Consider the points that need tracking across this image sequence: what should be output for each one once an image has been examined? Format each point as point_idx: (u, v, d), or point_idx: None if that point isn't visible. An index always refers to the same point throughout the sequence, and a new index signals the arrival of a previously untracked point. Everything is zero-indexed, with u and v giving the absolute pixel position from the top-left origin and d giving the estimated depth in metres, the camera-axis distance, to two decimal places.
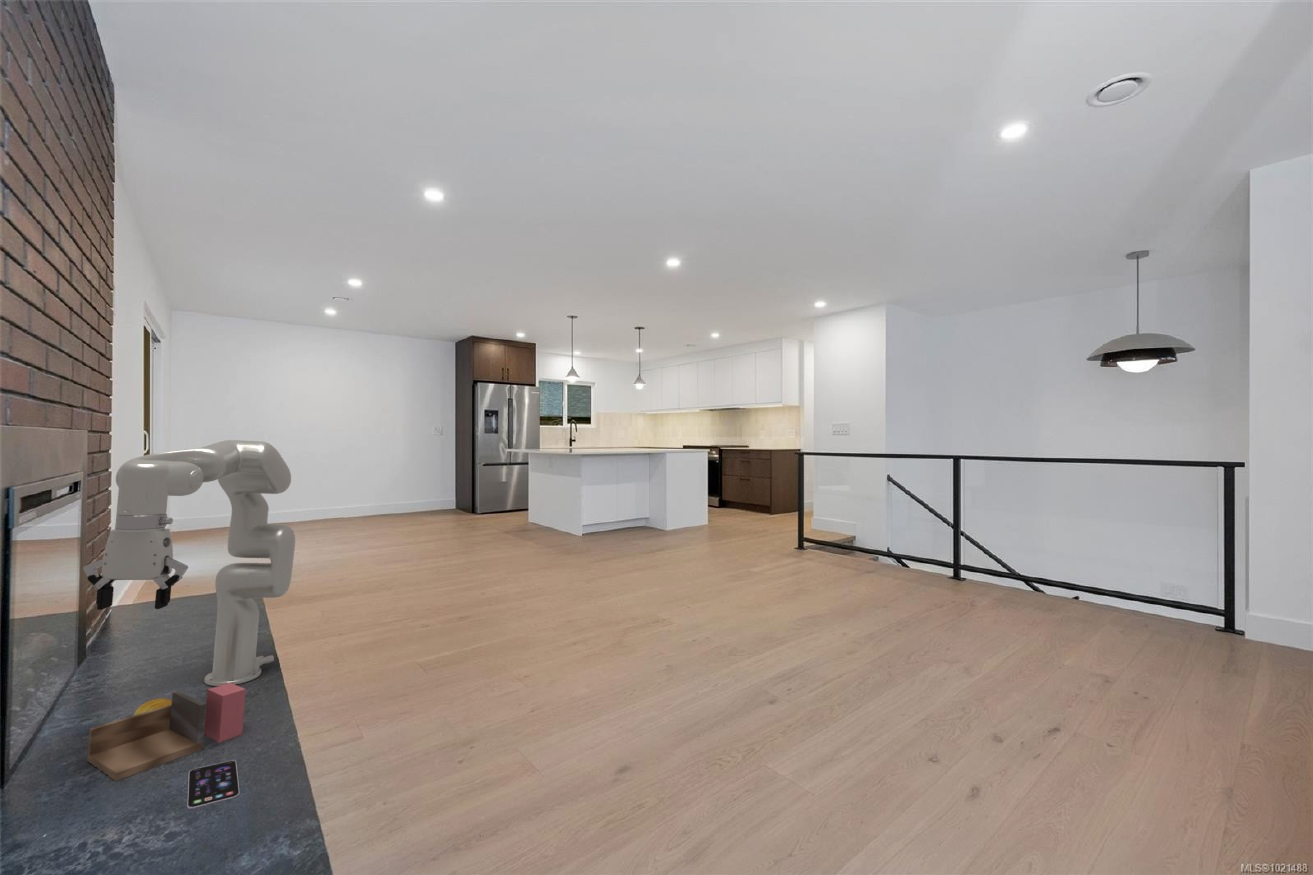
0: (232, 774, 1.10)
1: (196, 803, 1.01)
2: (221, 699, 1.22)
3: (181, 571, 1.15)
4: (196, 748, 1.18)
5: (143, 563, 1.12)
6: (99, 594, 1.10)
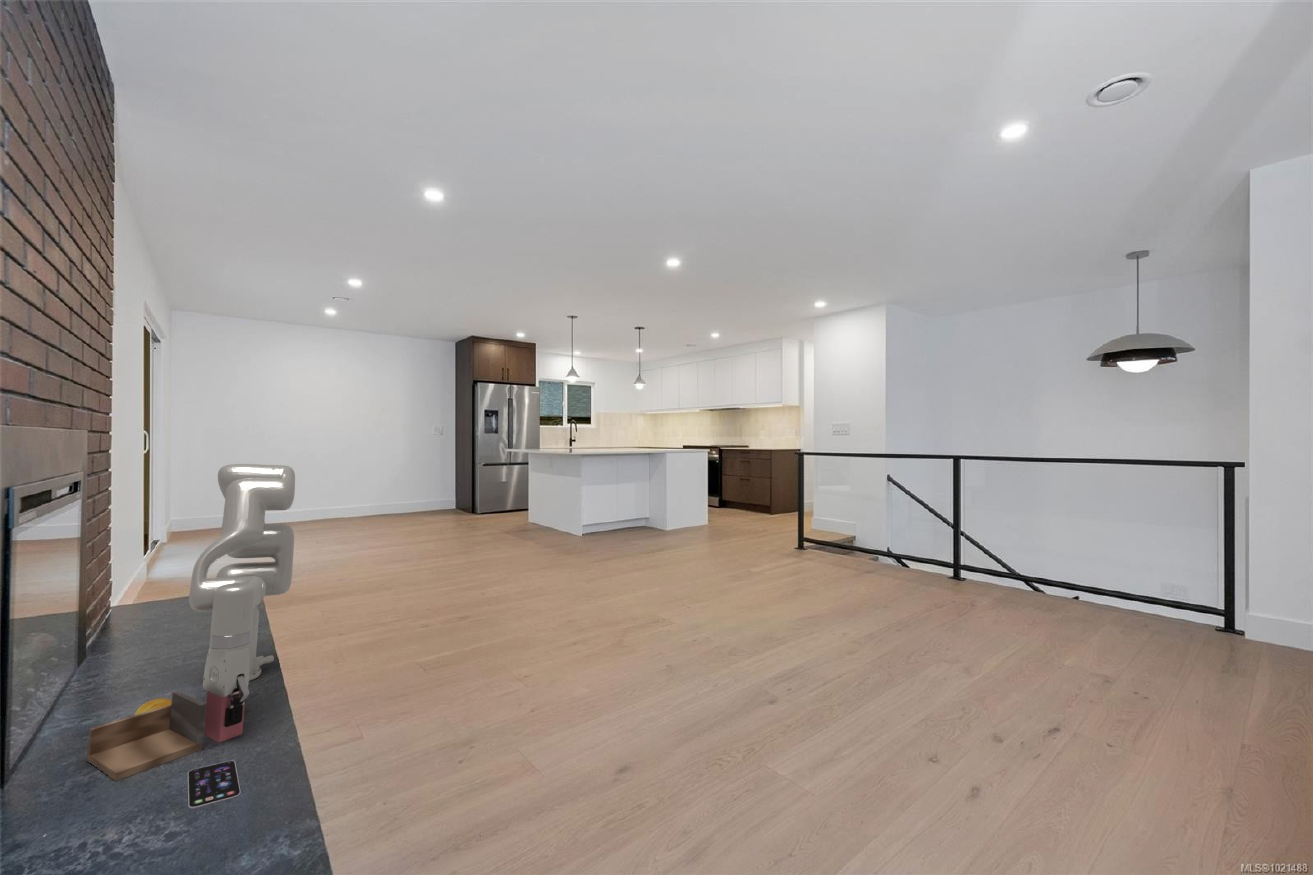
0: (232, 774, 1.10)
1: (197, 803, 1.01)
2: (221, 699, 1.22)
3: None
4: (196, 748, 1.18)
5: None
6: None
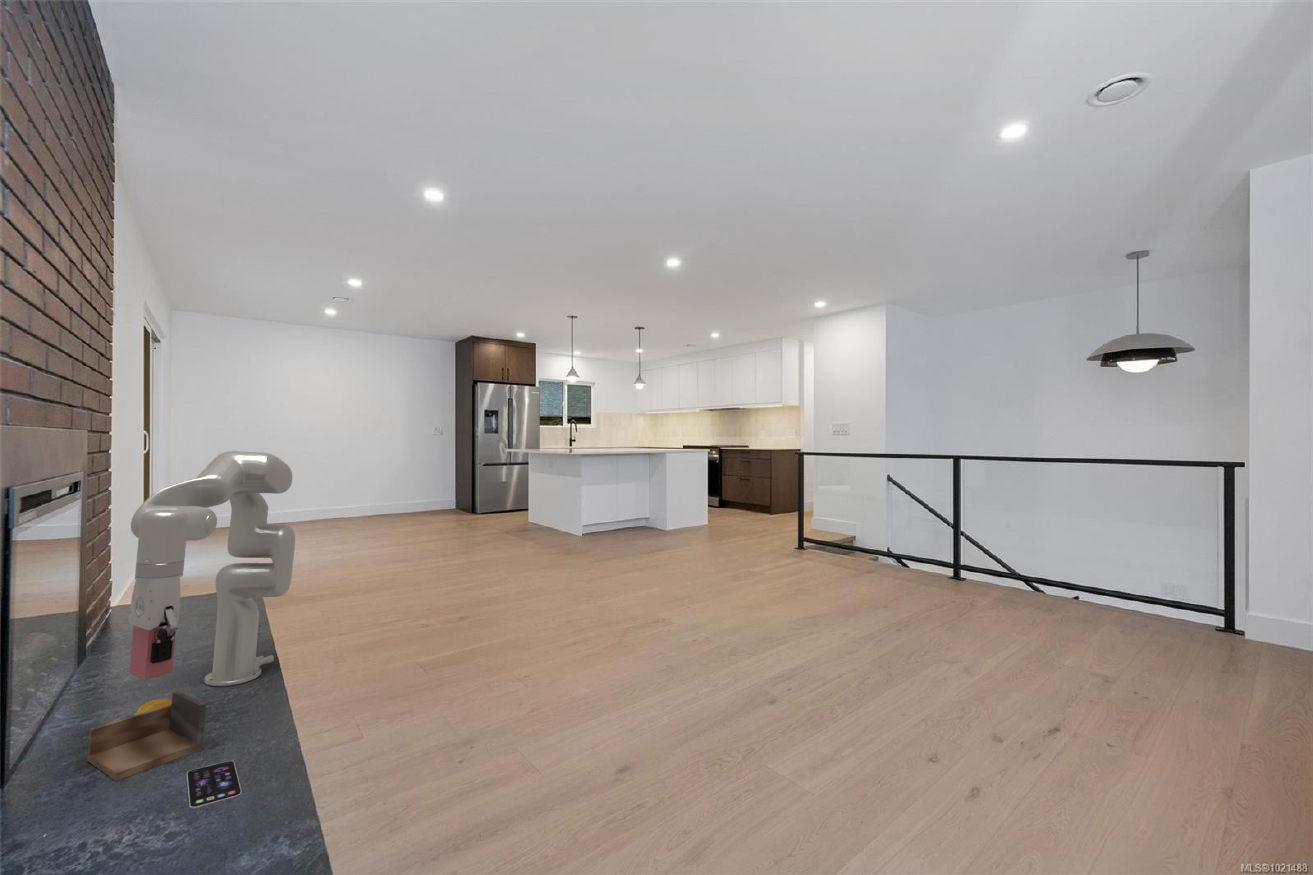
0: (232, 774, 1.10)
1: (198, 803, 1.01)
2: (147, 633, 1.12)
3: None
4: (196, 748, 1.18)
5: None
6: None
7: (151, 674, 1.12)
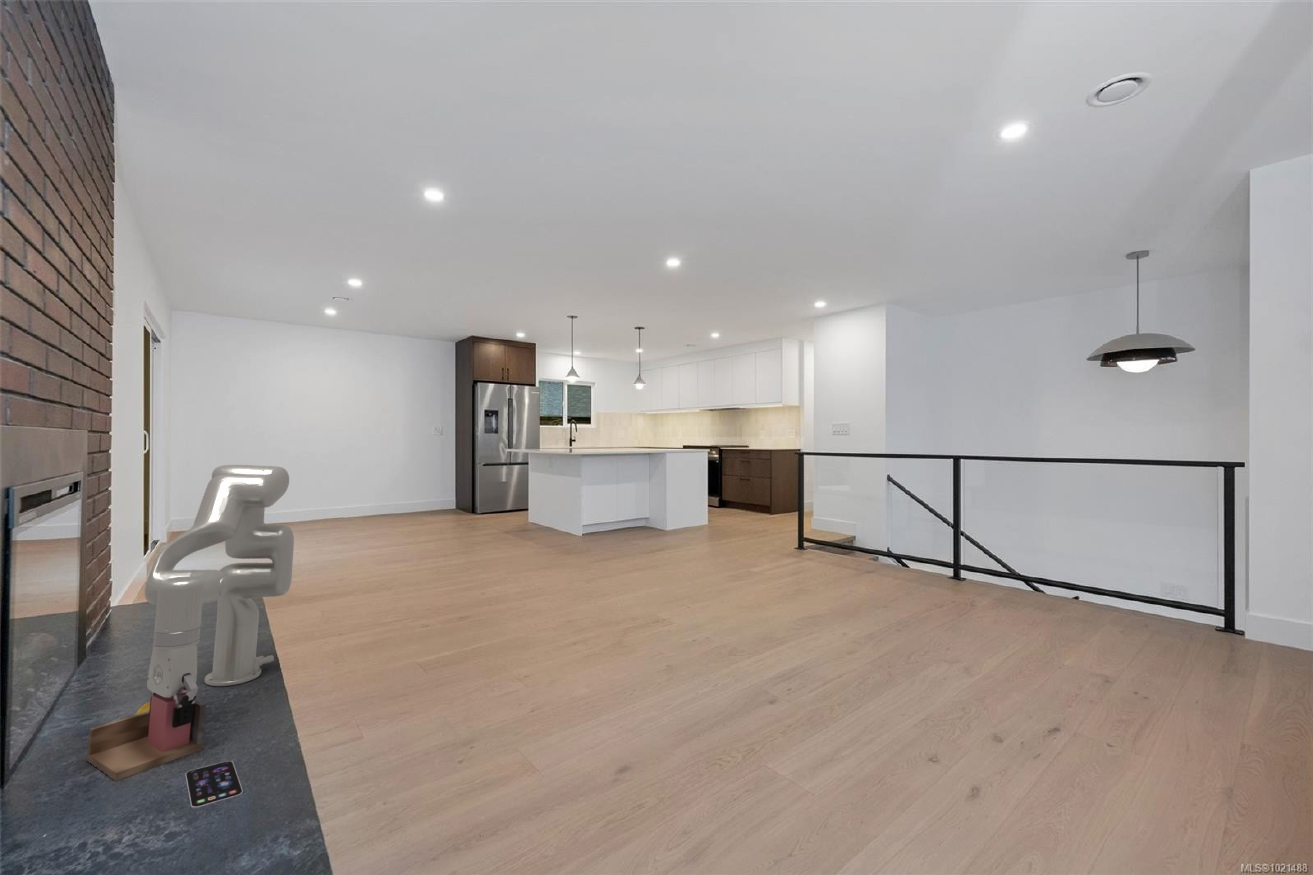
0: (232, 774, 1.10)
1: (200, 803, 1.01)
2: (165, 706, 1.15)
3: None
4: (196, 748, 1.18)
5: None
6: None
7: (169, 746, 1.15)
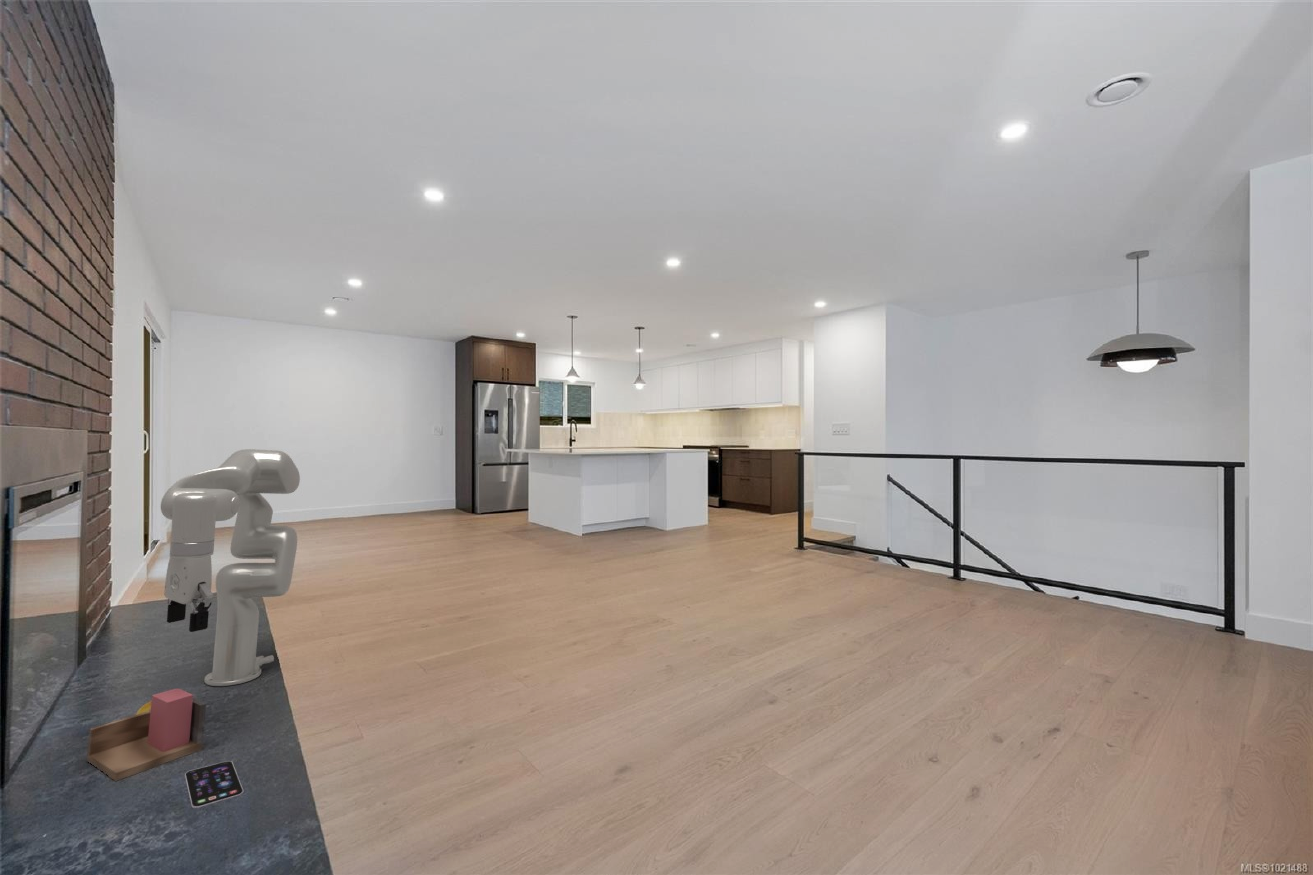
0: (232, 774, 1.10)
1: (200, 802, 1.01)
2: (165, 706, 1.15)
3: None
4: (196, 748, 1.18)
5: None
6: None
7: (169, 746, 1.15)
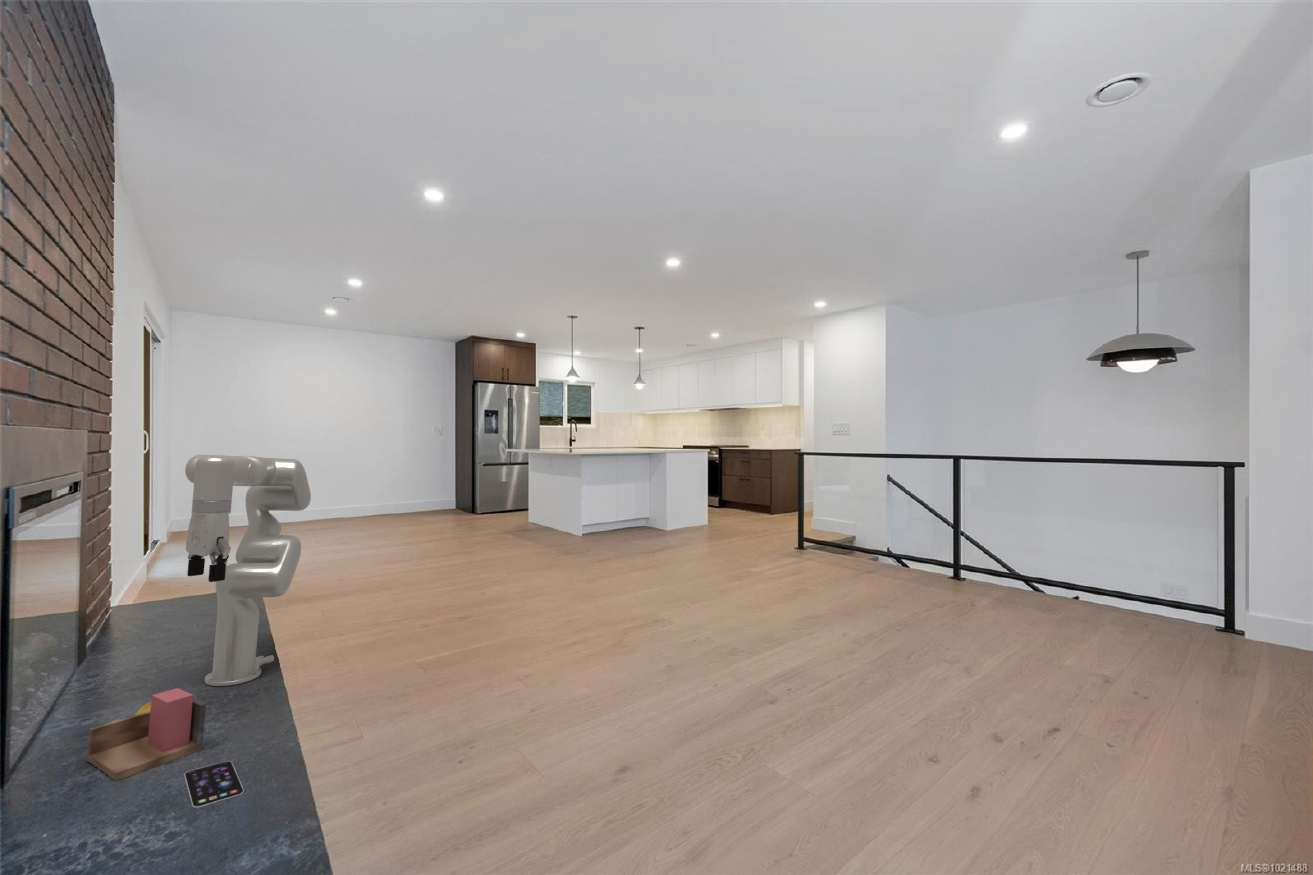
0: (231, 774, 1.10)
1: (201, 802, 1.01)
2: (165, 706, 1.15)
3: None
4: (196, 748, 1.18)
5: None
6: None
7: (169, 746, 1.15)
